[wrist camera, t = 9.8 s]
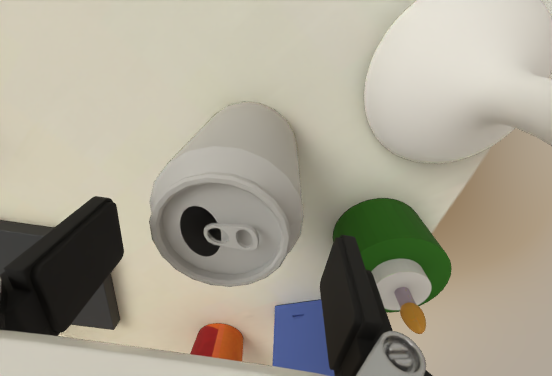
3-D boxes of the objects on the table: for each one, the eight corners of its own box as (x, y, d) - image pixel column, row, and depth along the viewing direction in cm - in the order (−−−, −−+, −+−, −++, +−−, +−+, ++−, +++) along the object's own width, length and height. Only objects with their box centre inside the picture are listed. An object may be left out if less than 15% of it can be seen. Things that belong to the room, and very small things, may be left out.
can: (197, 102, 21) (104, 166, 10) (295, 96, 20) (304, 157, 10) (214, 187, 24) (159, 300, 14) (297, 184, 24) (306, 298, 13)
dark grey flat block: (7, 305, 33) (-17, 327, 31) (-40, 214, 27) (-75, 233, 24) (120, 319, 34) (106, 343, 31) (102, 234, 27) (83, 255, 25)
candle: (342, 272, 29) (366, 374, 20) (324, 211, 25) (344, 303, 16) (423, 256, 27) (487, 358, 18) (416, 188, 23) (494, 276, 15)
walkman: (280, 319, 33) (277, 450, 22) (275, 305, 32) (269, 437, 21) (344, 311, 32) (373, 446, 21) (342, 296, 30) (370, 431, 20)
